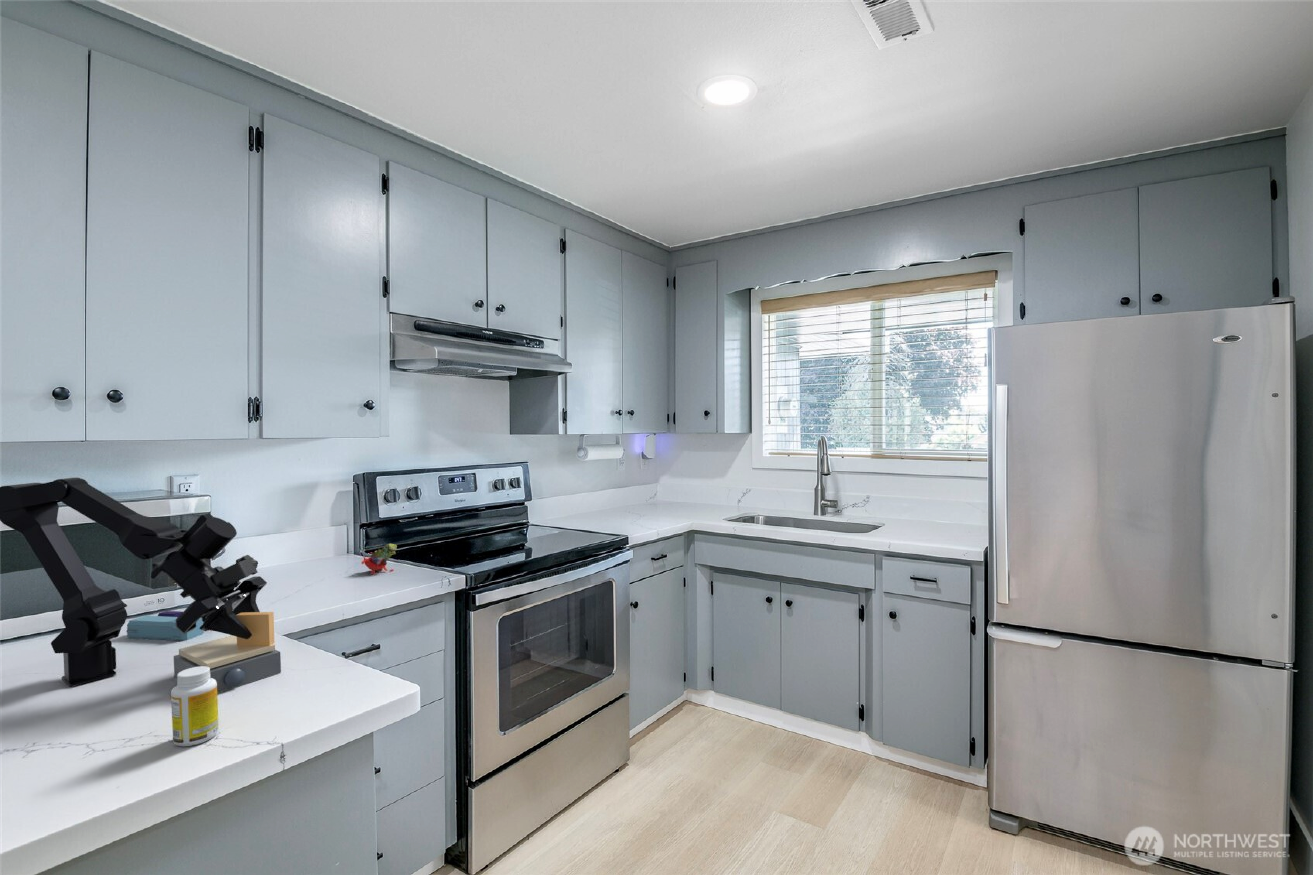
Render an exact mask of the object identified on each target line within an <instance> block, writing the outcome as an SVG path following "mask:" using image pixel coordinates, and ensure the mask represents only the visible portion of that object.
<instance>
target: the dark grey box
mask: <svg viewBox="0 0 1313 875" xmlns="http://www.w3.org/2000/svg"><path fill="white" fill-rule="evenodd" d="M193 667H200V665H198V664H196V663H194V662H192V661H190V660H188V659H186V658H184V657H183V656H181V655H179V654H176V655H173V676H174V678H175V679H177V675H178V673H179V672H181V671H183V670H186V669H189V668H193ZM278 673H279V674H282V661H281V651H280V650H277V649H275V650H273V651H270V652H266V653H263V654H259V655H256V656H253V657H249V658H246V659H242V660H239V661H235V662H232V663H228V664H225V665H222V666H218V667H215V668H211V669H210V678H213V679H215V680H216V682H217V694H219V693H222V692H226V691H229V690H231V689H234V688H237V687H238V688H239V687H240V686H243V685H247V684H251V683H253V682H257V681H261V680H263V679H266V678H268V677H272V676H275V675H274V674H276V675H279V674H278Z"/></svg>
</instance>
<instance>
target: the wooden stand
mask: <svg viewBox="0 0 1313 875" xmlns="http://www.w3.org/2000/svg"><path fill="white" fill-rule="evenodd" d="M274 614H275V613H274V611H260V612H245V613H239V614H237V615H236V616H237V617H238V618H239V620H240V621H241V622H242V623H243V624H244V625H245V626H246V627H247V628H248V630H249V631H250V632H251V634H252V636H251V637H250V638H249V639H244V638H240V637H236V636H233V635H227V636H224V637H220V638H218V639H213V640H209V641H206V642H201V643H197V644H194V645H190V646H186V647H182V648H178V655H181V656H183V657H184V658H186V659H188V660H190V661H192V662H194V663H196V664H198V665H200V666H206V667H209V668H210V669H211V668H215V667H218V666H222V665H225V664H228V663H232V662H235V661H239V660H242V659H246V658H249V657H253V656H256V655H259V654H263V653H266V652H270V651H273V650H276V644H275V643H276V642H275V617H274V616H275V615H274Z"/></svg>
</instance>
